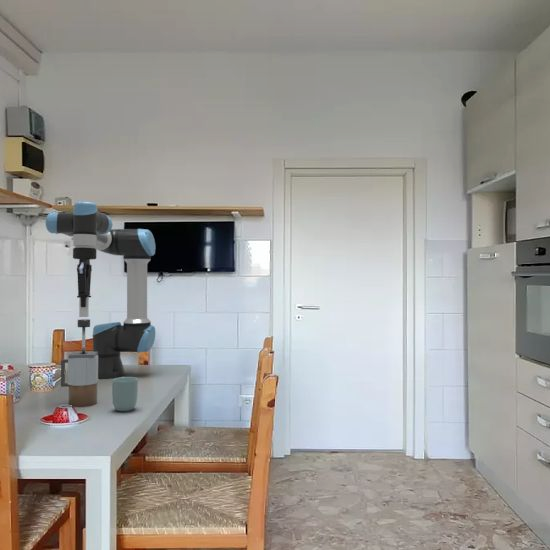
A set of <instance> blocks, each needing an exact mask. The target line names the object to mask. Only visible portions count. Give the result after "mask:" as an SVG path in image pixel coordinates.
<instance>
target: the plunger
mask: <svg viewBox="0 0 550 550" xmlns="http://www.w3.org/2000/svg"><path fill="white" fill-rule="evenodd" d="M90 327H91V319H88V318H86V319H85V318H84V319H81V318H80V319H77V328H81V329H82V330H81V331H82V332H81V352H82V354H85V352H86V328H90Z"/></svg>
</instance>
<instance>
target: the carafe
mask: <svg viewBox="0 0 550 550" xmlns="http://www.w3.org/2000/svg"><path fill="white" fill-rule="evenodd" d="M67 358H68V359H67ZM67 358H66V359H64V358H63V359H61V360H60V388H63V387H64V388H67V387H68V404H69V405H72V406H73V408H83V407H90V406H91V407H92V406H93V405H96V404H98V381H99V378H98V352H93V351H85V354H82V351H73V352H71V353H70V354H68V357H67ZM66 364H67V382H66ZM69 405H68V406H69ZM72 406H71V407H72Z"/></svg>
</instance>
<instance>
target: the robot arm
mask: <svg viewBox="0 0 550 550" xmlns="http://www.w3.org/2000/svg"><path fill="white" fill-rule="evenodd" d="M45 227H46V230H47V231H48V233H51V234H56V235H58V234H63V235H65V236H68V237H71V238H70V239H71V241H73V242H72V246H73V247H74V248H72V258H73V259H74V260H78V264H77V267H76V272H77V296H76V297H77V299H78V298H79V302H78V304H79V306H78V307H79V311H78V312H79V313H78V315H79V317H78V318H89V305H90V304H89V303H90V302H89V301H90V298H92V295H91V282H92V280H91V279H92V271H93V269H92V264H91V262H90V261H91V260H96V259H97V251H100V252H102V253H105V254H109V255H112V256H123V257H122V259H123V261H124V262H125V263H126V319H125V320H123V325H122V323H121V322H120V321H115V322H108V323H102V324H96V325H94V326H93V328H92V329H93V330H92V352H98V379H115V378H119V377H124V375H125V368H124V365H123V362H122V359H121V353H123V352H124V353H147V352H149V351H151V350H152V348H153V346H154V344H155V343H154V342H155V338H156V327H155V326H154V325H151V324H152V322H151V320H150V319H149V318H148V264H149V262H151V259H152V257H153V256H154V255H155V254H156V242H155V241H156V240H155V238H154V235H153V233H152V231H151V230H149V229H144V228H124V229H123V228H121V229H120V228H117V229H116V228H113V221H112V218H111V217H110V216H109V215H107V214H105V213H103V212H102V213H101V212H99V211H98V206H97V203H95V202H92V201H91V202H90V201H76V202H75V203H74V204H73V212H50V213H48V214H47V215H46V218H45ZM112 228H113V229H112Z"/></svg>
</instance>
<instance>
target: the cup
mask: <svg viewBox="0 0 550 550" xmlns="http://www.w3.org/2000/svg"><path fill="white" fill-rule="evenodd" d="M111 389H112V390H111V398H112V399H111V400H112V404H113V405H112V406H113V407H114V409H115V410H116V411H117V412H130V411H132V410H134V409H135V407H136V405H137V402H138V397H139V396H138V392H139V391H138V390H139V378H138V377H134V376H119V377H114V378H112V383H111Z"/></svg>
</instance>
